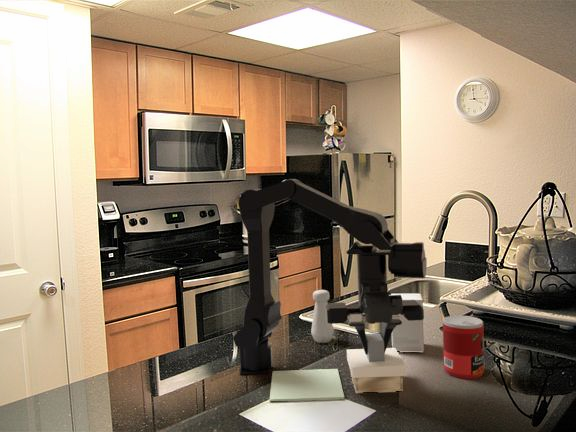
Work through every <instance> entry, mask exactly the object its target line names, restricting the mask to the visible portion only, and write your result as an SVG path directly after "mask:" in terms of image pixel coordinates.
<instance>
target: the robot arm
mask: <svg viewBox="0 0 576 432" xmlns="http://www.w3.org/2000/svg"><path fill="white" fill-rule="evenodd" d="M289 200H290V201H293V202H294V203H297V204H298V205H300V206H303V207H305V208H306V209H308V210H309V211H310V210H311V211H313V212H315V213H316V214H318V215H321V216H322V217H325V218H327V219H329V220H330V221H333V222H334V223H336V224H337V225H339V226H340V227H341V228H342V229H343V230H344V231H345V232H346V233H347V234H348V235H350V236H351V237H352V238H354V239H355V240H357V241H355V242H353V244H352V245H351V247H350V248H349V249H348V250H347V251H346V253H345V254H347V255H355V256H356V262H357V263H356V265H357V293H358V296H357V297H358V306H350V307H349V306H347V305H346V302H328V304H327V305H326V318H327V323H330V324H332V325H333V324H345V323H346V322H347V324H348V325H349V327H351V328H352V327H354V328H355V330H356V332H357V333H358V336H359V340H360V342H361V346H362V349H364V351H365V354H366V355H367V354H368V347H367V341H366V334H367V333H366V327H365V326H366V325H365V322H366V323H368V324H371V325H375V324H377V323H378V324H379V323H381V334H380V335H381V337H382V339H383V340H384V354H385V351H386V348H388V345H389V341H390V339H391V337H392V331H393V329H394V328H395V327H396V326H397V325H401V324H402V321H401V320H400V317H401V315H404V317H405V318H406V319H407V320H408V321H413V320H423V321H424V320H425V318H424V317H425V310H424V306H423V307H422V306H421V305H420V304H419V303H418V302H417V301H415V300H402V297H401V295H391V294H390V293H389V289H388V288H389V287H388V272H389V273H390V275H394V278H404V279H406V278H407V279H425V278H426V276H427V257H426V252H425V244H424V242H423V241H421V242H420V241H419V242H417V241H416V242H411V243H409V242H402V243H401V242H399V241H398V240H397V239H396V237H395V236H394V235H393V233H392V232H391V231H390V230H389V227H388V226H389V225H388V222H387V219H386V217H384V215H382V214H381V213H378V212H375V211H371V210H368V209H366V208H365V209H364V208H359V207H355V206H351V205H348V204H345V203H344V202H342V201H340V200H337V199H335V198H334V197H331V196H329V195H327V194H326V193H323V192H321V191H319V190H317V189H315V188H314V187H311V186H309V185H307V184H304V183H303V182H302V181H301V180H299V179H296V178H288V179H284V180H282V181H281V182H278V183H276V184H272V185H269V186H267V187H264V188H254V189H246V190H245V191H243V193H241V195H240V196H239V197H238V202H237V203H238V210H239V214H240V219H241V221H242V224H243V225H244V227H245V230H246V233H247V257H248V258H247V259H248V263H247V264H248V287H249V288H248V289H249V298H248V301H247V302H246V306H245V308H244V312H243V313H244V314H243V321H242V327H241V328H240V329H239V330H238V331H237V333H236V334H234V336H233V337H232V339H233V341H234V344H235V347H239V361H240V363H239V365H240V368H239V374H240V375H255V374H256V375H257V374H269V373H270V370H271V368H272V367H273V350H272V348H273V347H272V345H271V344H269V343H270V340H269V338H270V337H272V335H273V333H274V332H273V331H275V330H276V329H277V327H279V324H280V320H282V319H283V317H282V315H281V307H282V304H281V301H280V300H279V301H275V300H274V297H273V294H272V284H271V282H272V281H271V257H270V256H271V255H270V254H271V251H270V228H271V225H272V224H273V223H272V222H273V220H274V217H275V216H274V215H275V210H276V209H275V207H276V206H279V205H281V204H284V203H286V202H288V201H289ZM362 244H364V245H362ZM387 270H388V271H387ZM363 317H365V322H364V320H363Z"/></svg>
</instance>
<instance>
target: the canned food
mask: <svg viewBox="0 0 576 432" xmlns="http://www.w3.org/2000/svg"><path fill="white" fill-rule="evenodd" d="M484 332H485V331H484V321H483V320H482V319H480V318H478V317H475V316H471V315H457V314H456V315H448V316H445V317H444V318H443V320H442V336H443V337H442V344H443V367H444V370H445V373H447V374H448V373H449V374H450V375H449V374H448V375H449V376H451V375H452V377H454V376H455V377H454V378H458V377H459V378H458V379H466V380H471V379H473V380H474V379H478V378H481V377H482V376H483V374H484V372H485V347H484V346H485V343H484V342H485V341H484V340H485V339H484V335H485V333H484Z"/></svg>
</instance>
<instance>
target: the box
mask: <svg viewBox="0 0 576 432" xmlns="http://www.w3.org/2000/svg"><path fill="white" fill-rule="evenodd" d="M350 377H352V374H351V373H350ZM403 377H404V376H391V377H363V378H353V377H352V378H351V380H352V384H354V385H353V388H354V390H355V391H354V392H355V394H364V393H363V392H378V393H397V392H396V391H403V392H404V382H403V381H404V380H403Z"/></svg>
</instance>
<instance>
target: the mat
mask: <svg viewBox="0 0 576 432" xmlns="http://www.w3.org/2000/svg"><path fill="white" fill-rule="evenodd" d="M271 374H272V375H271V384H270V391H269V392H270V393H269V402H270V401H288V402H312V401H311V400H316V401H338V400H339V401H340V399H344V400H345V394H344V391H343V386H342V381H341V378H340V377H341V376H340V374H339V370H338V368H324V369H323V368H321V369H319V368H318V369H298V370H297V369H295V370H294V369H293V370H292V369H291V370H290V369H289V370H273V371H272V373H271Z"/></svg>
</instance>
